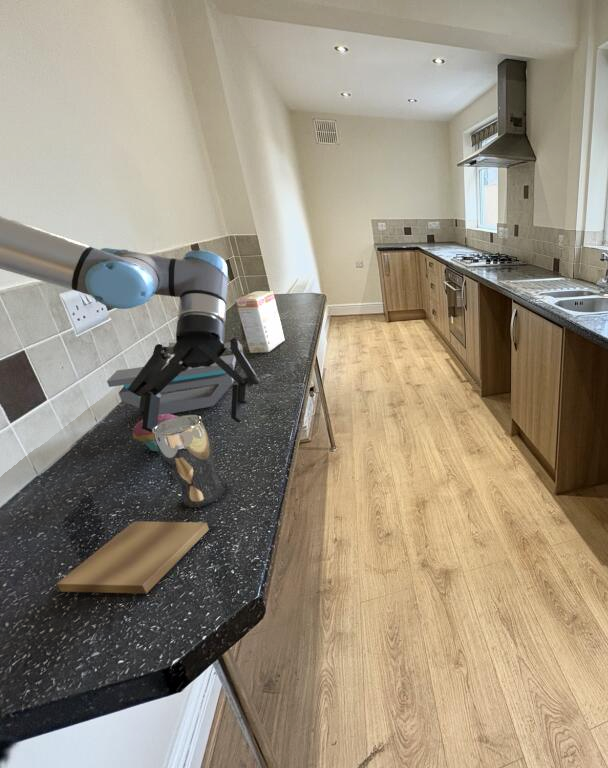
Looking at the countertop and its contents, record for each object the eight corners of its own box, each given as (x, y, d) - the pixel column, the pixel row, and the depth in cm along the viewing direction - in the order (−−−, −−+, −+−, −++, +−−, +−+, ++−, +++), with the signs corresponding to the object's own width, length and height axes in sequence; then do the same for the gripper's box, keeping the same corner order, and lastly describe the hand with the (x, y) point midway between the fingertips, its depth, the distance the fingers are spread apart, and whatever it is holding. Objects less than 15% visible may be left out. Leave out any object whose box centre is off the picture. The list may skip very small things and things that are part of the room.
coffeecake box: (266, 340, 161) (254, 291, 153) (285, 340, 162) (274, 290, 154) (248, 353, 148) (234, 299, 140) (269, 352, 148) (256, 298, 141)
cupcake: (130, 451, 88) (108, 401, 83) (173, 432, 95) (155, 385, 90) (156, 459, 85) (135, 407, 80) (198, 439, 92) (181, 391, 87)
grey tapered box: (244, 390, 117) (234, 354, 113) (243, 400, 111) (232, 363, 107) (133, 409, 106) (116, 370, 102) (124, 421, 100) (106, 381, 96)
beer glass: (222, 480, 78) (198, 410, 72) (231, 496, 74) (206, 423, 68) (177, 496, 74) (148, 423, 68) (184, 515, 69) (153, 439, 63)
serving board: (60, 591, 56) (55, 583, 55) (137, 528, 67) (133, 521, 66) (146, 593, 55) (142, 585, 55) (209, 529, 66) (206, 522, 66)
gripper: (277, 327, 87) (277, 421, 80) (139, 337, 81) (125, 440, 74) (265, 308, 80) (263, 409, 73) (112, 317, 74) (94, 428, 67)
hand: (193, 425), depth 73 cm, fingers open, 13 cm apart
